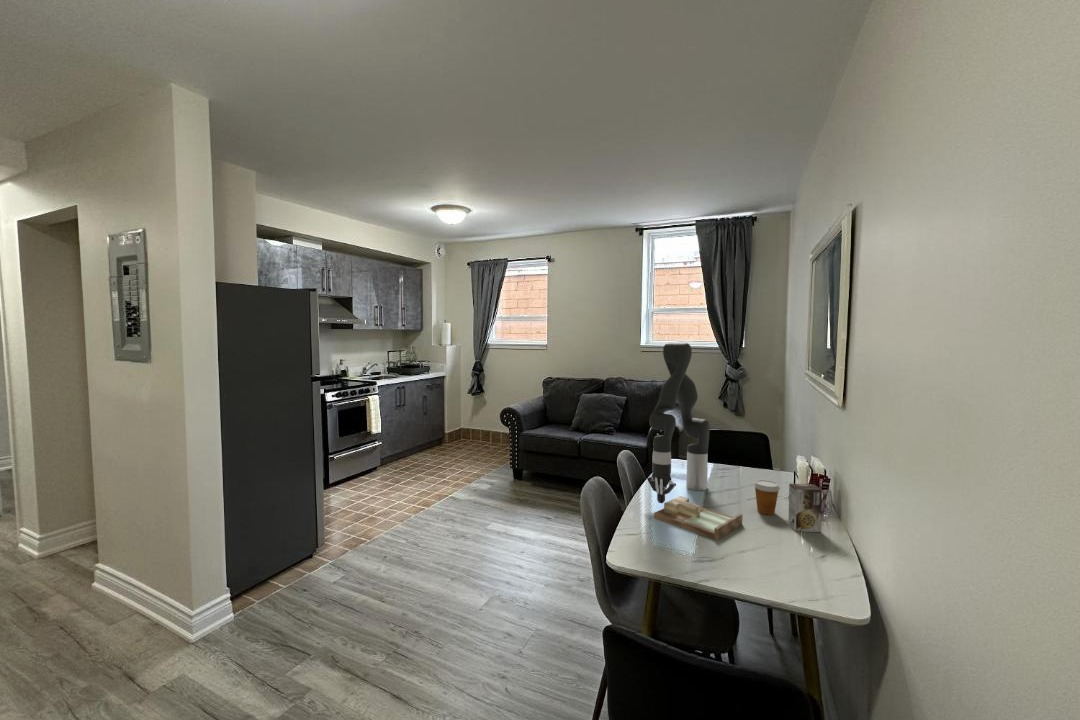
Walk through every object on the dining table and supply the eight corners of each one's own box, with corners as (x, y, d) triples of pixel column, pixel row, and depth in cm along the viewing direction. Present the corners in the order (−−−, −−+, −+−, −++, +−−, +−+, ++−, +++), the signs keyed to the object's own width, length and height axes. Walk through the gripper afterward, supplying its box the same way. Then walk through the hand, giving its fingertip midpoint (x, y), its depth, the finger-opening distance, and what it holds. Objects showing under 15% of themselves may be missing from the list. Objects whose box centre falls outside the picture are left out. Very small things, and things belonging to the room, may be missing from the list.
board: (680, 505, 190) (680, 496, 190) (742, 524, 171) (742, 514, 170) (653, 517, 177) (653, 507, 176) (717, 540, 157) (717, 528, 157)
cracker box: (812, 525, 170) (813, 483, 169) (821, 532, 164) (823, 489, 163) (787, 524, 171) (788, 482, 170) (795, 531, 165) (796, 488, 164)
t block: (680, 504, 186) (680, 496, 186) (704, 512, 178) (705, 503, 177) (663, 511, 178) (664, 503, 177) (689, 520, 169) (689, 511, 169)
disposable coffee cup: (767, 517, 177) (767, 488, 176) (747, 509, 186) (748, 481, 185) (784, 514, 181) (785, 485, 180) (764, 506, 189) (765, 478, 189)
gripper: (681, 463, 182) (680, 504, 183) (653, 456, 192) (652, 496, 193) (670, 466, 177) (670, 509, 178) (643, 459, 187) (642, 500, 188)
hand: (660, 502), depth 185 cm, fingers closed
